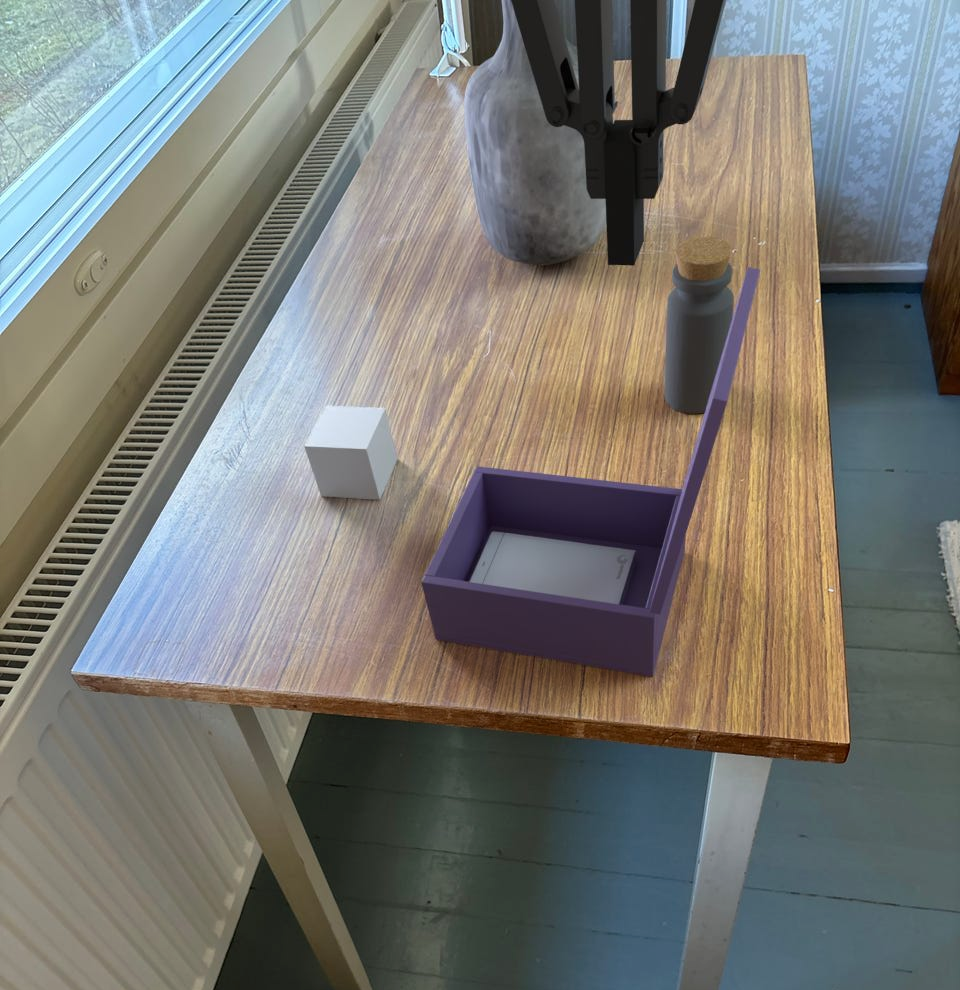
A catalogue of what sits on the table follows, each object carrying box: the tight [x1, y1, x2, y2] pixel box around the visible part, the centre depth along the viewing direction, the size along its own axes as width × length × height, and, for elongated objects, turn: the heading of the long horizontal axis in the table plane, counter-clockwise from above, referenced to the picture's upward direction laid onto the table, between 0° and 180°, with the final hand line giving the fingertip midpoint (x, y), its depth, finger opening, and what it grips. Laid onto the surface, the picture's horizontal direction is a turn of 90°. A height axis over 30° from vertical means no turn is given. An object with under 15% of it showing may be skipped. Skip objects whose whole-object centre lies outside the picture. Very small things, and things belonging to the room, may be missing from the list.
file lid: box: [650, 266, 761, 615], centre depth 61 cm, size 18×14×1 cm
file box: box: [421, 465, 687, 678], centre depth 74 cm, size 18×14×7 cm
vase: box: [463, 0, 607, 266], centre depth 101 cm, size 16×16×30 cm
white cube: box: [303, 405, 399, 501], centre depth 87 cm, size 6×6×6 cm
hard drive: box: [470, 531, 637, 605], centre depth 76 cm, size 2×8×12 cm
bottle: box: [664, 236, 735, 415], centre depth 86 cm, size 6×6×15 cm
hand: (626, 252), depth 52 cm, fingers closed
